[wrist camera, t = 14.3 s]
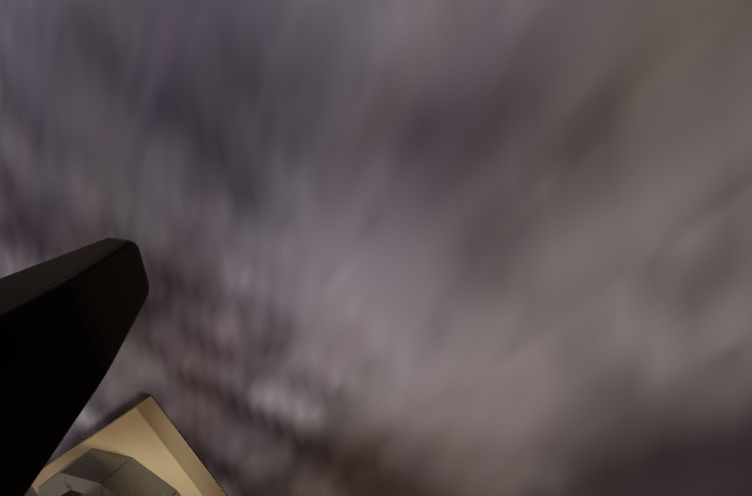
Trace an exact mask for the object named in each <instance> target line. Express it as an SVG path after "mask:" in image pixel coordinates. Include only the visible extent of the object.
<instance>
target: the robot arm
mask: <svg viewBox="0 0 752 496" xmlns="http://www.w3.org/2000/svg"><path fill="white" fill-rule="evenodd" d="M148 293H149V281H148V277H147V274H146V270H145V267H144V263H143V260H142V257H141V253H140V250H139V247H138V246H137V245H136V243H135V242H133V241H131V240H125V239H118V238H106V239H104V240H101V241H98V242H96V243H93V244H90V245H88V246H85V247H82V248H80V249H77V250H74V251H72V252H69V253H67V254H64V255H61V256H59V257H56V258H53V259H51V260H48V261H45V262H43V263H40V264H38V265H35V266H32V267H30V268H27V269H24V270H22V271H19V272H16V273H14V274H11V275H8V276H6V277H3V278H1V279H0V496H25V494H26V493H27V491H28V490H29V488H30V487H31V485H32V484H33V482H34V481H35V480H36V478H37V477H38V475H39V474H40V472H41V471H42V469H43V468H44V466H45V465H46V463H47V462H48V460H49V459H50V457H51V456H52V454H53V453H54V451H55V450H56V448H57V447H58V445H59V444H60V443H61V441H62V440H63V438H64V437H65V435H66V434H67V432H68V431H69V429H70V428H71V426H72V425H73V423H74V422H75V420H76V419H77V417H78V416H79V414H80V413H81V411H82V410H83V408H84V407H85V406H86V404H87V403H88V401H89V400H90V398H91V397H92V395H93V394H94V392H95V391H96V389H97V388H98V386H99V384H100V383H101V381H102V380H103V378H104V377H105V375H106V373H107V371H108V370H109V368H110V366H111V364H112V363H113V361H114V359H115V357H116V355H117V353H118V351H119V349H120V348H121V346H122V344H123V342H124V340H125V338H126V336H127V335H128V333H129V331H130V329H131V327H132V325H133V323H134V322H135V320H136V318H137V316H138V314H139V312H140V310H141V308H142V307H143V305H144V303H145V301H146V299H147V296H148Z"/></svg>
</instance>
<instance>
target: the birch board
mask: <svg viewBox="0 0 752 496" xmlns="http://www.w3.org/2000/svg"><path fill="white" fill-rule="evenodd" d="M91 448H96V449H100V450H104V451H108V452H113V453H117V454H121V455H125V456H130V457H133V458H134V459H135V460H137V461H138V462H139V463H141V464H142V465H143V466H145V467H146V468H148V469H149V470H150V471H152V472H153V473H154V474H156V475H157V476H158V477H160V478H161V479H163V480H164V481H165V482H167V483H168V484H169V485H171V486H172V487H173V488H175V489H176V490H177V491H178V492H179V493H180V495H181V496H227V495H226V494H225V493H224V491H223V490H222V489H221V487H220V486H219V485H218V484H217V482H216V481H215V480H214V478H213V477H212V476H211V474H210V473H209V472H208V470H207V469H206V468H205V466H204V465H203V464H202V462H201V461H200V460H199V458H198V457H197V456H196V454H195V453H194V452H193V451H192V449H191V448H190V447H189V445H188V444H187V443H186V441H185V440H184V439H183V437H182V436H181V435H180V433H179V432H178V431H177V429H176V428H175V427H174V425H173V424H172V423H171V421H170V420H169V419H168V418H167V416H166V415H165V414H164V412H163V411H162V410H161V408H160V407H159V406H158V404H157V403H156V402H155V400H154V399H153V398H152V396H150V397H148V398H147V399H145V400H144V401H142V402H141V403H139V404H138V405H136V406H135V407H133V408H132V409H130V410H129V411H127V412H126V413H124V414H123V415H121V416H120V417H118V418H117V419H115V420H114V421H112V422H111V423H109V424H108V425H107V426H105V427H104V428H102V429H101V430H99V431H98V432H96V433H95V434H93V435H92V436H90V437H89V438H87V439H86V440H84V441H83V442H81V443H80V444H78V445H77V446H75V447H74V448H72V449H71V450H69V451H68V452H66V453H65V454H63V455H62V456H60V457H59V458H58V459H56V460H55V461H53V462H52V463H50V464H49V465H47V466H46V467H44V468H43V469H42V471H41V472H40V474H39V475H38V477H37V478H36V480H35V481H34V482H33V484H32V485H31V486H32V487H33V488H34V489H35V491H36V492H37V493H38V487H39V486H40V485H41V484H43V483H44V482H45V481H47V480H48V479H49V478H50V477H52V476H53V475H54V474H56V473H57V472H58V471H59V470H61V469H62V468H63V467H65V466H66V465H67V464H68V463H70V462H71V461H73V460H74V459H76V458H77V457H79V456H81V455H82V454H84V453H85V452H87V451H88V450H90V449H91ZM81 496H87V494H83V493H81Z"/></svg>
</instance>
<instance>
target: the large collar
mask: <svg viewBox="0 0 752 496" xmlns="http://www.w3.org/2000/svg"><path fill="white" fill-rule="evenodd" d="M81 493H83V494H87V495H90V496H181V495H180V493H179V492H178V491H177V490H176V489H175V488H173V487H172V486H171V485H169V484H168V483H167V482H165V481H164V480H163V479H161V478H160V477H158V476H157V475H156V474H154V473H153V472H152V471H150V470H149V469H148V468H146V467H145V466H143V465H142V464H141V463H139V462H138V461H137V460H135V459H134V458H133V457H130V456H125V455H121V454H117V453H113V452H108V451H104V450H100V449H96V448H91V449H90V450H88V451H87V452H85V453H84V454H82V455H81V456H79V457H77V458H76V459H74V460H73V461H71V462H70V463H68V464H67V465H66V466H65V467H63V468H62V469H61V470H59V471H58V472H57V473H56V474H54V475H53V476H52V477H50V478H49V479H48V480H47V481H45V482H44V483H43V484H41V485H40V486H39V487H38V496H81Z"/></svg>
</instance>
